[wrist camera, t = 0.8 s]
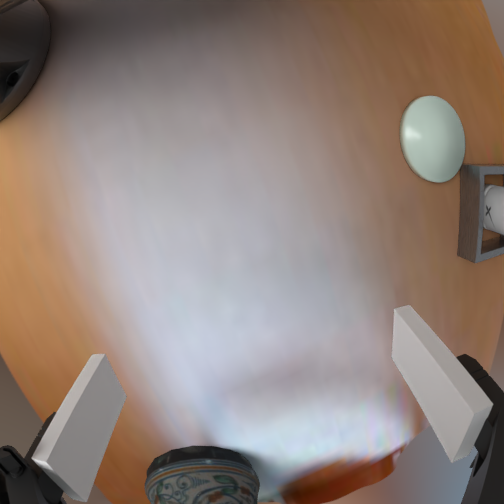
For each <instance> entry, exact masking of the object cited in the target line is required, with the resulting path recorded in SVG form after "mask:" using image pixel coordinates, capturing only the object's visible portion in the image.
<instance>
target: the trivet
mask: <svg viewBox="0 0 504 504" xmlns="http://www.w3.org/2000/svg"><path fill="white" fill-rule="evenodd" d="M400 144H401V148H402V152H403V155H404V157H405V160H406V162H407V163H408V165H409V167H410V168H411V169H412V171H413V172H414V173H415V174H416V175H418V176H419V177H420V178H422V179H424V180H427V181H431V182H440V183H441V182H445V181H448V180H450V179H451V178H452V177H454V176H455V175H456V173H457V172H458V171H459V169H460V167H461V165H462V162H463V159H464V154H465V135H464V130H463V127H462V124H461V121H460V119H459V117H458V115H457V113H456V112H455V110H454V109H453V108H452V106H451V105H450V104H449V103H447V102H446V101H445V100H443V99H441V98H439V97H436V96H425V97H419V98H417V99H415V100H413V101H412V102H410V103H409V105H408V106H407V107H406V109H405V110H404V112H403V115H402V118H401V122H400Z"/></svg>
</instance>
